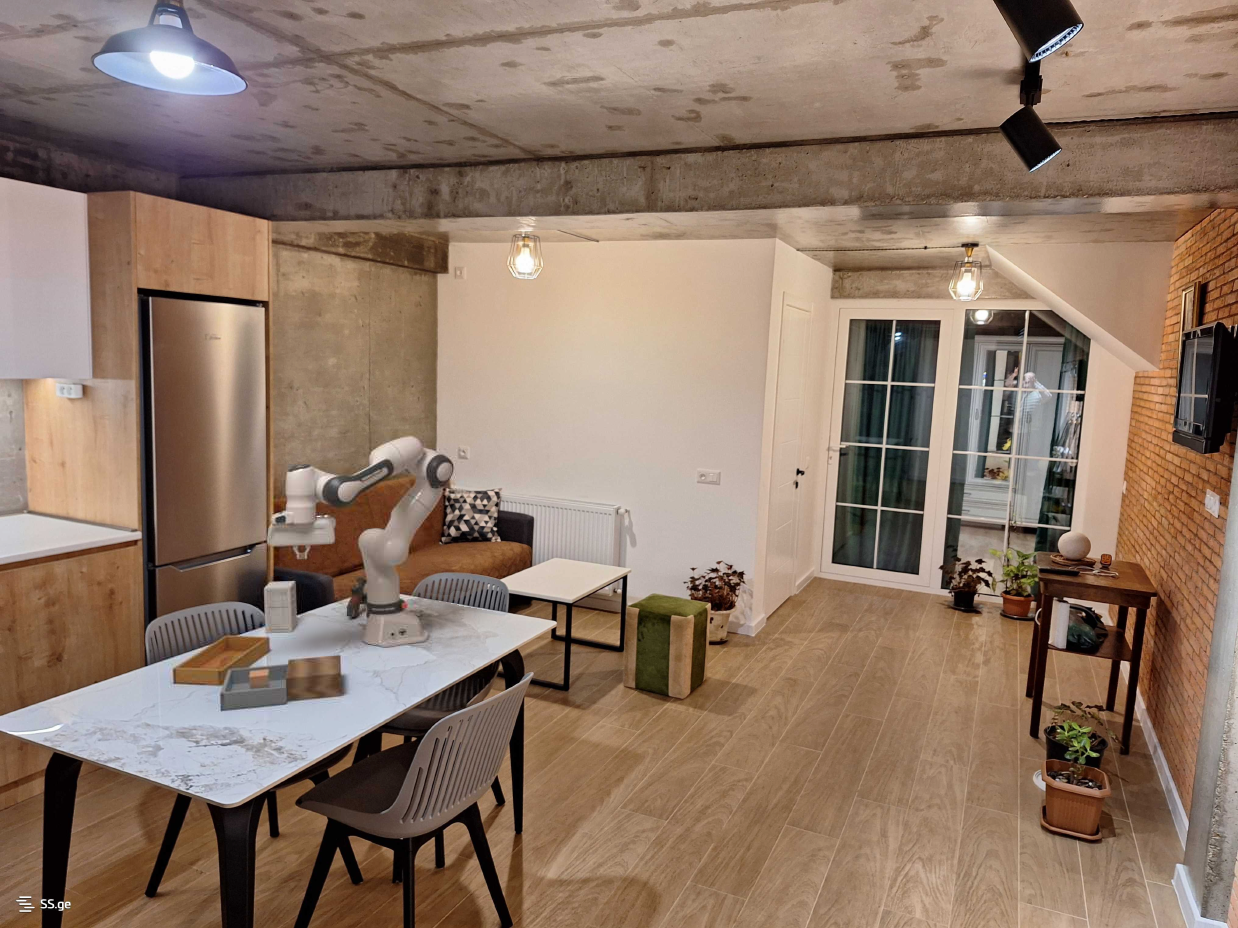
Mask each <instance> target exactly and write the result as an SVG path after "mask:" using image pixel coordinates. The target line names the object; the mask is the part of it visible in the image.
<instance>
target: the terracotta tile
mask: <svg viewBox="0 0 1238 928" xmlns="http://www.w3.org/2000/svg"><path fill="white" fill-rule="evenodd" d="M268 683H269V669H267V670H256V671H250V675H249V687H254V686H264V685H268Z"/></svg>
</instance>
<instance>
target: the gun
mask: <svg viewBox="0 0 1238 928" xmlns="http://www.w3.org/2000/svg"><path fill="white" fill-rule="evenodd" d="M349 591H350V592H351V596H350V599H349V601H348V603H347V606H346V617H351V618H352V617H354V618H355V617H360V615H361V614H360V612H359V611H360V608H361V605H366V601H367V578H364V577H357V578H356V582H355V584H354V585H353V587H351V586H350V587H349Z"/></svg>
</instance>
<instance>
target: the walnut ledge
mask: <svg viewBox="0 0 1238 928" xmlns="http://www.w3.org/2000/svg"><path fill="white" fill-rule="evenodd" d="M341 660H342V659H341V654H339V655H329V656H328V655H327V656H317V657H306V658H303V657H302V658H294V659H288V660H287V664H288V668H287V675H286V699H287V702H296V701H306V700H315V699H328V698H334V697H342V666H341V665H342V663H341V662H342V661H341ZM287 702H286V703H287Z"/></svg>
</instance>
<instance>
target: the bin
mask: <svg viewBox="0 0 1238 928" xmlns="http://www.w3.org/2000/svg"><path fill="white" fill-rule="evenodd" d="M287 668H288V663H283V664H282V663H281V664H274V665H273V664H272V665H262V666H248V667H247V668H237V669H228V672H227V675H226V678H225V681H224V684H223V685H222V686H221V690H220V693H219V698H220V700H219V701H220V712H225V711H235V710H236V711H237V710H246V709H253V708H256V709H257V708H262V707H263V708H264V707H273V706H281V705H287V699H286V675H287ZM267 669H269V679H270V688H262V689H252V690H250V687H249V675H250V671H256V670H267Z"/></svg>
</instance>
